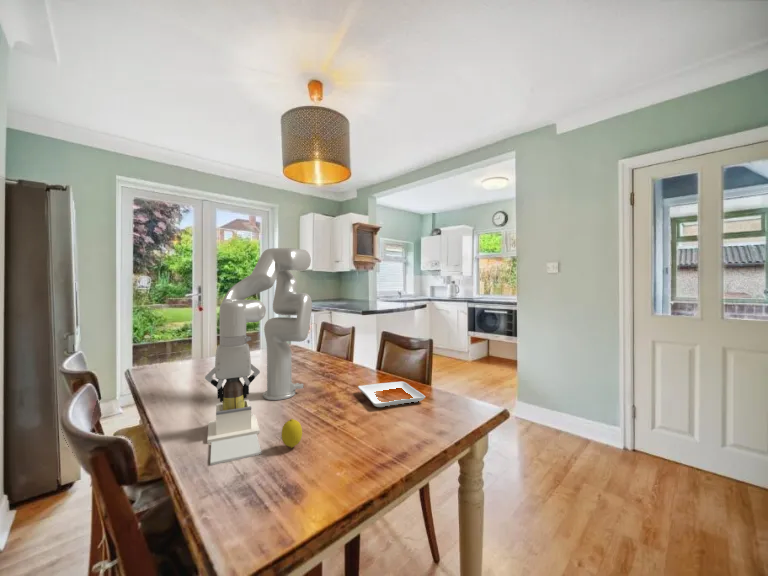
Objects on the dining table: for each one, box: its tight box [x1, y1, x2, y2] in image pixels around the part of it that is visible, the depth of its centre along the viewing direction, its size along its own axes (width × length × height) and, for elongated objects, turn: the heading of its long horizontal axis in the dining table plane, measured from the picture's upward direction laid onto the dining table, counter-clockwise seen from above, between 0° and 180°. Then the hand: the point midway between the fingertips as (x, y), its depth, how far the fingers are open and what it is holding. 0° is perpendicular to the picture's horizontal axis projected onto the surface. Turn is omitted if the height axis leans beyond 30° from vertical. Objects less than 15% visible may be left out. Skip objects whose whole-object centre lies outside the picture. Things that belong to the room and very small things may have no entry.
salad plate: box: [357, 381, 426, 408], centre depth 131 cm, size 21×21×3 cm
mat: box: [209, 434, 262, 466], centre depth 91 cm, size 12×12×1 cm
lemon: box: [281, 418, 303, 449], centre depth 91 cm, size 6×6×8 cm
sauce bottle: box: [222, 378, 245, 411], centre depth 103 cm, size 6×6×20 cm
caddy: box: [206, 399, 261, 444], centre depth 103 cm, size 14×14×8 cm
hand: (233, 398), depth 103 cm, fingers closed on sauce bottle, 6 cm apart
